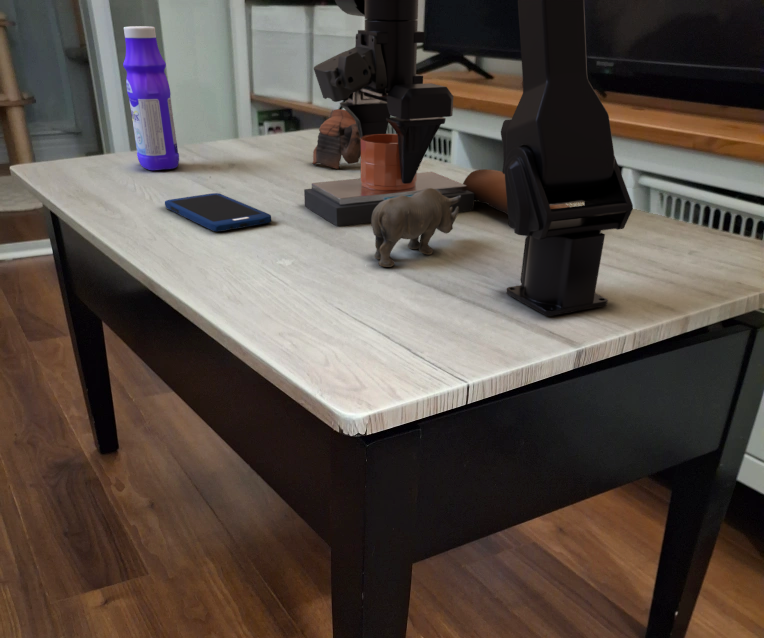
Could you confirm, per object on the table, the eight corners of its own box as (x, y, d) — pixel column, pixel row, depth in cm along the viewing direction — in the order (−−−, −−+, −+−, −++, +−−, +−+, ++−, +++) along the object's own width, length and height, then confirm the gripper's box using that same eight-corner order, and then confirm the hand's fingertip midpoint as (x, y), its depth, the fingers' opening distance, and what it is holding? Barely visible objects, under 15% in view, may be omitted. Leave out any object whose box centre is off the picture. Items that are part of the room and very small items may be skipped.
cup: (425, 187, 90) (427, 141, 87) (375, 192, 88) (375, 145, 85) (400, 176, 95) (401, 132, 92) (352, 181, 93) (351, 135, 90)
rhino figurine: (473, 241, 82) (478, 181, 78) (391, 270, 73) (392, 205, 70) (443, 233, 84) (446, 175, 81) (359, 261, 76) (359, 197, 72)
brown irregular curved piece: (299, 164, 116) (316, 109, 115) (353, 190, 121) (370, 137, 120) (327, 156, 106) (346, 95, 105) (385, 184, 111) (403, 127, 109)
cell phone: (215, 232, 83) (214, 225, 83) (162, 206, 92) (161, 200, 92) (274, 222, 87) (273, 215, 86) (217, 198, 96) (217, 192, 95)
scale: (473, 210, 93) (475, 185, 91) (336, 226, 86) (336, 200, 84) (433, 192, 100) (434, 169, 98) (304, 206, 93) (303, 182, 92)
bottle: (135, 164, 113) (112, 25, 103) (173, 161, 115) (155, 24, 105) (144, 173, 108) (121, 28, 98) (184, 170, 110) (166, 27, 100)
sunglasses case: (602, 227, 85) (584, 174, 80) (551, 265, 85) (531, 215, 80) (517, 192, 98) (498, 145, 94) (474, 225, 98) (453, 180, 94)
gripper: (290, 16, 86) (297, 166, 95) (359, 25, 72) (360, 199, 81) (379, 15, 90) (378, 159, 99) (460, 24, 76) (450, 189, 85)
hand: (388, 175), depth 91 cm, fingers open, 9 cm apart
